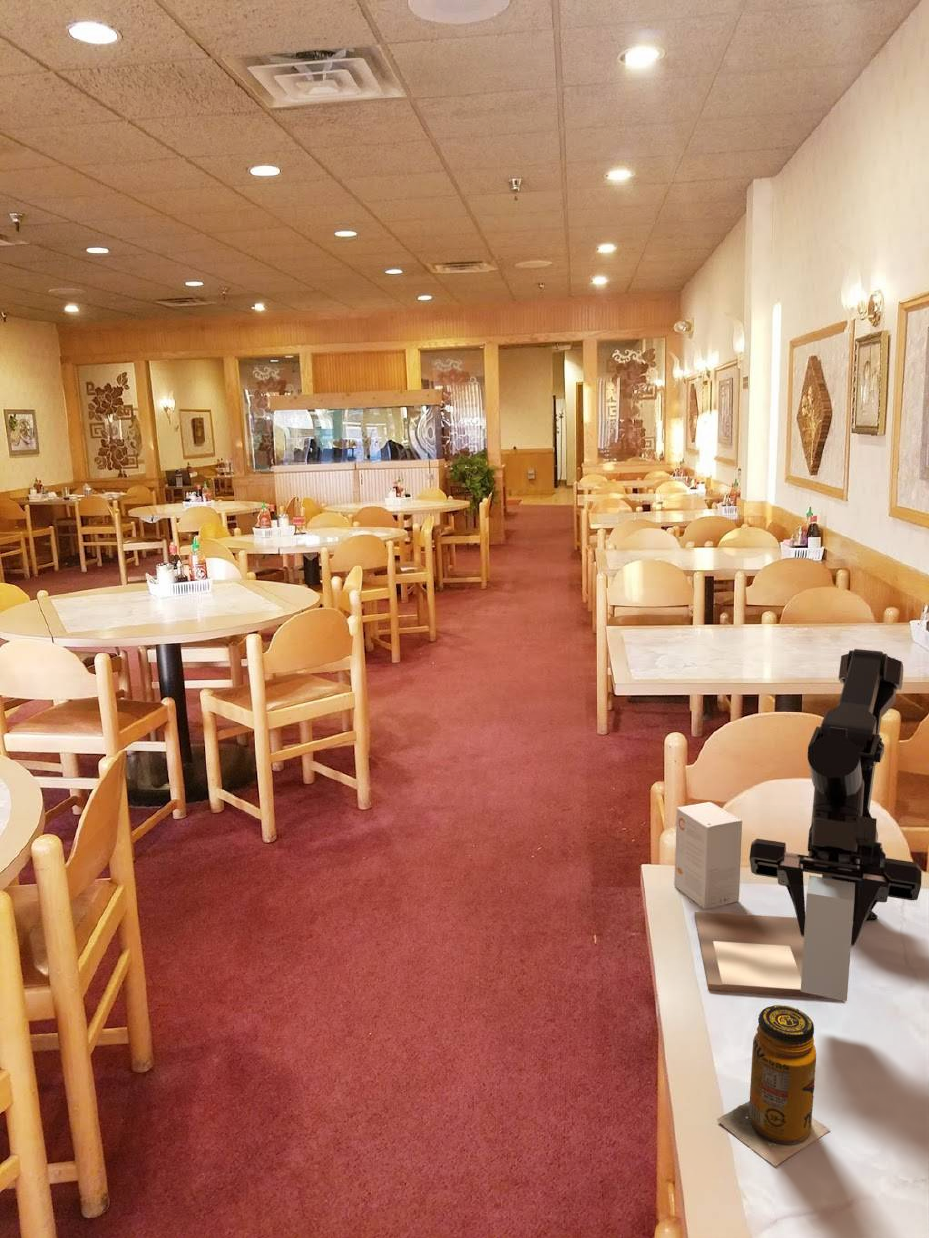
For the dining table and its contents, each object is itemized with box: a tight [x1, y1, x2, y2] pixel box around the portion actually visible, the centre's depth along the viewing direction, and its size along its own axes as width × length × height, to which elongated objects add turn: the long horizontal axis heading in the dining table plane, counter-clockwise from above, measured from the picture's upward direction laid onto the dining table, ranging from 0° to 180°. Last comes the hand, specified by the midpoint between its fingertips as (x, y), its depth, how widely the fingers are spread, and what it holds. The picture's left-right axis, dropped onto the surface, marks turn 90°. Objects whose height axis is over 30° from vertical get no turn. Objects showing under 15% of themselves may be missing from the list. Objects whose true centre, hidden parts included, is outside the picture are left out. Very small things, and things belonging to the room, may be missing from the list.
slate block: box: [801, 875, 855, 1002], centre depth 108 cm, size 4×5×12 cm
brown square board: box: [694, 911, 830, 999], centre depth 125 cm, size 18×16×1 cm
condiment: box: [716, 1004, 830, 1167], centre depth 93 cm, size 7×8×12 cm
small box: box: [673, 801, 743, 910], centre depth 140 cm, size 8×6×13 cm
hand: (827, 940), depth 107 cm, fingers closed on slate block, 5 cm apart
